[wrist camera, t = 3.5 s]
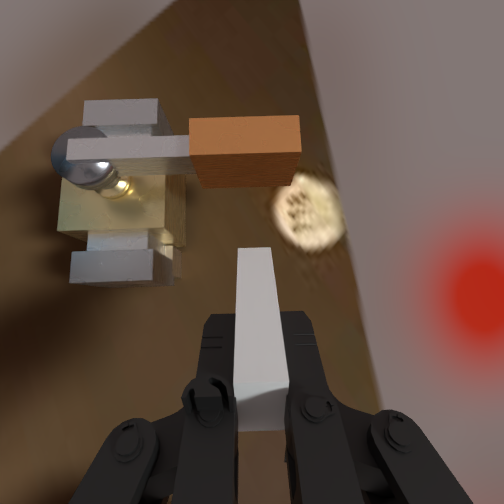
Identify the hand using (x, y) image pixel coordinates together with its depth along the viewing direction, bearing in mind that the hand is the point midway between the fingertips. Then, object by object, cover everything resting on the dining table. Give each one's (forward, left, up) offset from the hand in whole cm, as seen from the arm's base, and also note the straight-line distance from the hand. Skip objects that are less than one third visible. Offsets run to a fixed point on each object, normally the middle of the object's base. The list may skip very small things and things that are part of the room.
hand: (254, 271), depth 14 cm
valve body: (-11, +3, -12) cm, 16 cm away
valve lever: (-6, +5, -3) cm, 8 cm away
